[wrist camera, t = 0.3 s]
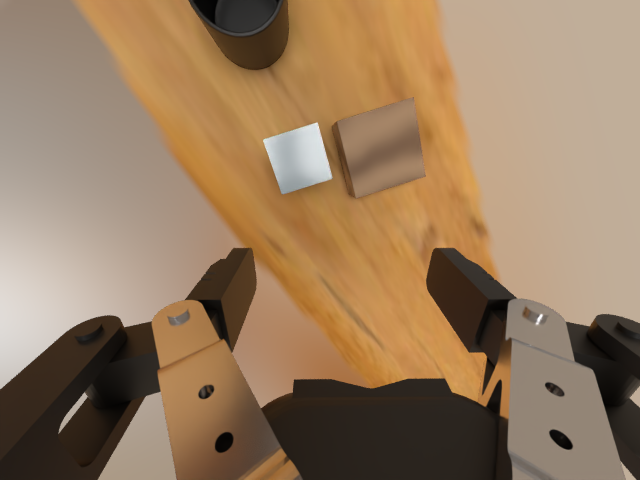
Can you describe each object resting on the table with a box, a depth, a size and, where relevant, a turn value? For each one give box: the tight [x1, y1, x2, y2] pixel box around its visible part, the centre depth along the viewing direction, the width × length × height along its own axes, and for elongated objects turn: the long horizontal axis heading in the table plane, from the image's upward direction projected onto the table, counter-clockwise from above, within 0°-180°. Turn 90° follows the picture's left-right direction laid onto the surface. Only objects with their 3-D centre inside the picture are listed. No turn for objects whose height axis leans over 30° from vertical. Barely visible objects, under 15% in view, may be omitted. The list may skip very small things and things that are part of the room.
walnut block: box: [332, 97, 426, 198], centre depth 34 cm, size 10×10×5 cm
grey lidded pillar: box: [263, 123, 333, 194], centre depth 31 cm, size 6×6×11 cm
